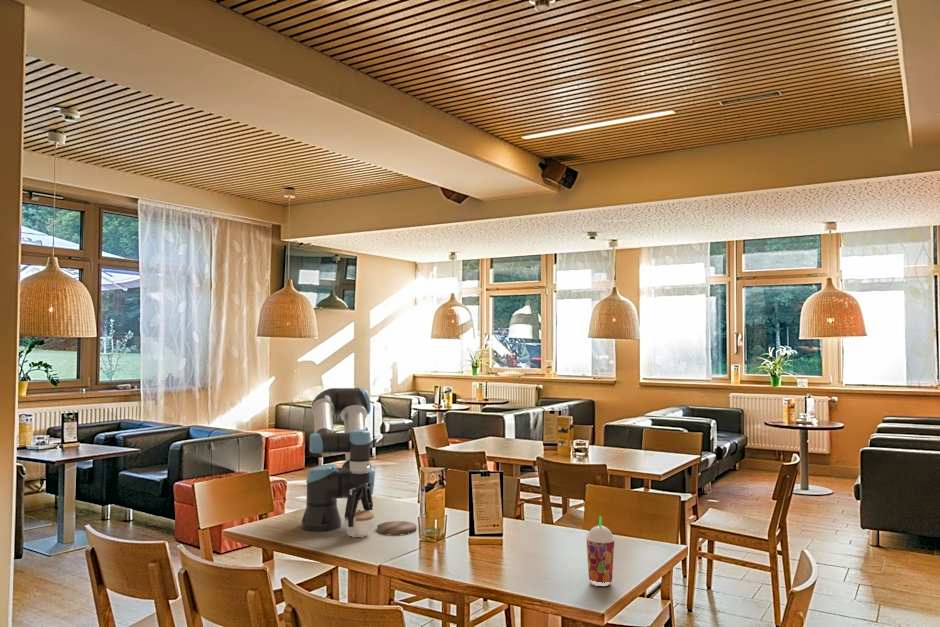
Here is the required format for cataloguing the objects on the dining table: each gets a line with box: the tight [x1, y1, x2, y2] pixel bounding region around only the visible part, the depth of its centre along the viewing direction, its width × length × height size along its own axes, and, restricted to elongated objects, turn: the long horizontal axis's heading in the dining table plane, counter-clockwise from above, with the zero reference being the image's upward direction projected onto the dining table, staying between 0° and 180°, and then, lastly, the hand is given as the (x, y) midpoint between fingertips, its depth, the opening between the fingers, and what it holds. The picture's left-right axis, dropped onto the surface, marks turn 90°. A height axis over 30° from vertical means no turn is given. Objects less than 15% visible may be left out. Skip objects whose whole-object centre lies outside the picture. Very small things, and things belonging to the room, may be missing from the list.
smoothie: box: [586, 516, 615, 583], centre depth 216 cm, size 8×8×20 cm
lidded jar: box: [344, 509, 375, 538], centre depth 268 cm, size 11×11×9 cm
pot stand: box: [376, 520, 418, 536], centre depth 276 cm, size 15×15×2 cm
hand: (359, 531), depth 268 cm, fingers closed on lidded jar, 11 cm apart
